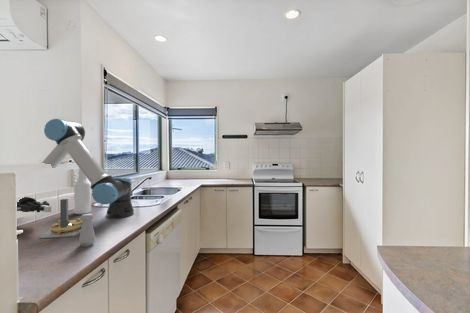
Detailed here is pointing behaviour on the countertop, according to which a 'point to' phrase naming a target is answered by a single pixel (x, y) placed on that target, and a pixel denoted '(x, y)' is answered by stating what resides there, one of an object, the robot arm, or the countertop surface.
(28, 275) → the countertop surface
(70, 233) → the flange plate
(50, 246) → the countertop surface
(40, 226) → the countertop surface
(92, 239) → the salt shaker
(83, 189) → the alcohol
